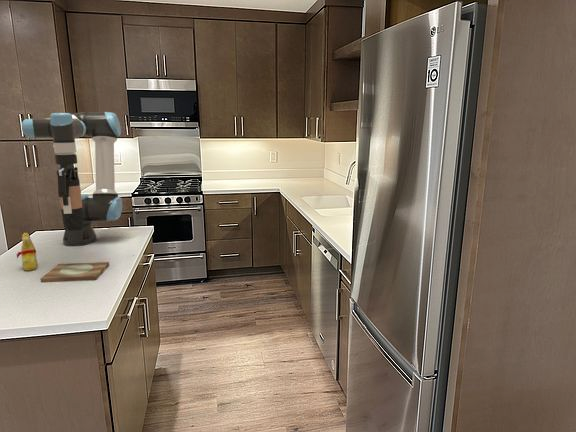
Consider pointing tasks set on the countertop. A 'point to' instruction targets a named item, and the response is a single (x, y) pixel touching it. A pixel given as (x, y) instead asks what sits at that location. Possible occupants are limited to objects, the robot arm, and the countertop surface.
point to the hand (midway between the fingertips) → (72, 211)
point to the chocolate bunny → (28, 253)
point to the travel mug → (73, 207)
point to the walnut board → (75, 272)
